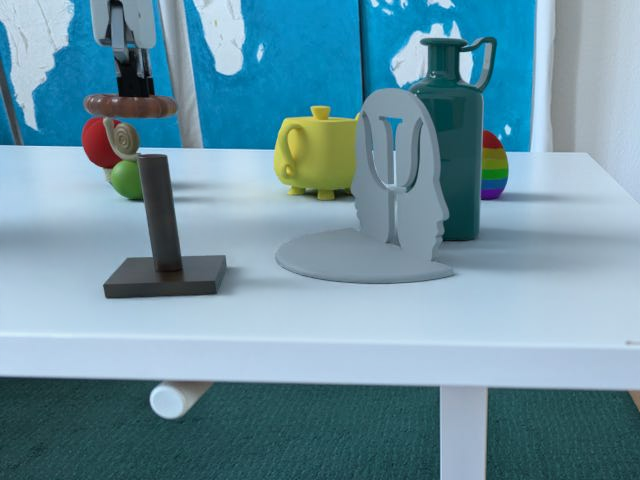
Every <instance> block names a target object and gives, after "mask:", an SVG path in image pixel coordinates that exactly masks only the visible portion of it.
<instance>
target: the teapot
mask: <svg viewBox="0 0 640 480" xmlns="http://www.w3.org/2000/svg"><path fill="white" fill-rule="evenodd" d="M310 111H311V114H312V116H298V117H297V116H295V117H294V116H293V117H285V118H284V119H283V121H282V123H281V126H280V129H279V131H278V133H277V138H276V142H275V146H274V151H273V152H274V153H273V171H274V174H275V176H276V177H277V179H278V180H279V181H280V183H281V184H283V185H286V186H289V187H290V186H291V187H290V189H289V191H288V192H287V195H290V196H301V195H305V193H306V190H307V189H311V190H317V197H316V199H317V200H321V201H331V200H335V193H334V190H344V192H345V194H346V195H353V194H352V193H351V184H352V181H353V178H354V175H355V170H356V165H357V161H356V155H355V139H356V129H357V122H358V118H359V114H360V111H359V112H358V113H357V114H356V116H355V118H347V117H335V116H334V117H333V116H330V113H331V107H330V106H328V105H312V106H310Z"/></svg>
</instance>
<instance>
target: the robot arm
mask: <svg viewBox="0 0 640 480" xmlns="http://www.w3.org/2000/svg"><path fill="white" fill-rule="evenodd" d="M89 4H90V15H91V23H92V24H91V25H92V33H93V38H94V41H95V43H97V44H98V45H99V46H101V47H107V48H108V47H109V48H111V50H112V53H113V62H114V69H115V75H116V79H115V80H116V85H117V92H118V93H117V94H119V97H137V98H150V96H149V95H156V89H155V82H154V77H153V70H152V63H151V56H150V50H151V49H153V48H154V47H155V46H156V44H157V34H156V33H157V32H156V22H155V14H154V13H155V12H154V3H153V0H89ZM128 45H134V46H133V47H131V46H128Z"/></svg>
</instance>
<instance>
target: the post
mask: <svg viewBox="0 0 640 480" xmlns="http://www.w3.org/2000/svg"><path fill="white" fill-rule="evenodd" d="M137 160H138V166H139V172H140V179H141V185H142V192H143V198H142V199H143V204H144V210H145V211H144V212H145V216H146V223H147V230H148V237H149V242H150V249H151V254H152V256H140V257H139V256H138V257H137V256H135V257H134V256H133V257H126V258H125V260H123V262H122V263H121V264H120V265H119V266H118V268H116V270H114V271H113V272H112V274H110V276H109V277H108V278H107V279H106V280H105V282H104V283H103V284H102V287H103V288H102V289H103V292H104V297H105V298H106V299H111V298H113V299H114V298H137V297H141V298H142V297H164V296H165V297H166V296H167V297H168V296H190V295H191V296H192V295H215V294H218V292H219V291H218V290H219V288H220V285H221V282H222V280H223V278H224V275H225V273H226V270H227V267H228V264H227V256H226V254H211V255H210V254H209V255H208V254H207V255H182V251H181V250H182V249H181V244H180V235H179V229H178V221H177V215H176V207H175V200H174V193H173V186H172V179H171V170H170V164H169V157H168V155H167V154H165V153H145V154H144V153H143V154H141V155H138V156H137Z"/></svg>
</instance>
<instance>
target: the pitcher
mask: <svg viewBox="0 0 640 480" xmlns="http://www.w3.org/2000/svg"><path fill="white" fill-rule="evenodd" d="M419 44H420V45H421V46H424V47H427V71H426V74H425V76H424V78H423V79H421V80H419V81H415V82H414V83H412V84H410V85H409V86H408V87H407V88H406V91H409V92H411V93H413V94H414V95H415V96H416V97H418V98H419V99H420V100H421V101H422V103H423V104H424V105H425V107H426V109H427V111H428V113H429V115H430V117H431V119H432V122H433V124H434V127H435V131H436V135H437V140H438V146H439V153H440V165H441V169H440V177H439V182H440V186H441V190H442V193H443V197H444V200H445V202H446V205H447V207H448V210H449V218H448V219H447V220H444V221H443V227H444V234H443V235H441V236H442V241H469V240H474V239H476V238H477V237H478V236H479V235H480V233H481V200H482V199H481V172H482V140H483V130H484V105H485V104H484V103H485V102H484V96H483V92H484V91H485V90H486V89H487V87H488V85H489V83H490V81H491V79H492V76H493V73H494V67H495V61H496V54H497V47H498V40H497V38H495V36H484V37H479V38H476V39H474V41H473V42H472V43H471V44H470V45H469V41H467V40H466V39H463V38H456V37H423V38H421V39H420V40H419ZM483 44H485V47H484V55H483V64H482V69H481V73H480V76H479V79H478V80H477V81H476V83H475V84H471V83H469V82H467V81H466V80H464V78H463V77H462V75H461V54H462V53H470V52H474V51H476V50H477V49H479V48H480V47H481V46H482V45H483ZM422 125H423V122H422V124H421V127H420V131H419V137H418V152H417V153H418V161H417V171H416V175H415V178H414V181H413V182H412V184H411V185H410V186H407V187H405V194H406V193H408V192H409V191H410V190H411V189H412V188H413V187H414V186H415V184H416V181H417V177H418V171H419V163H420V135H421V128H422Z"/></svg>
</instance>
